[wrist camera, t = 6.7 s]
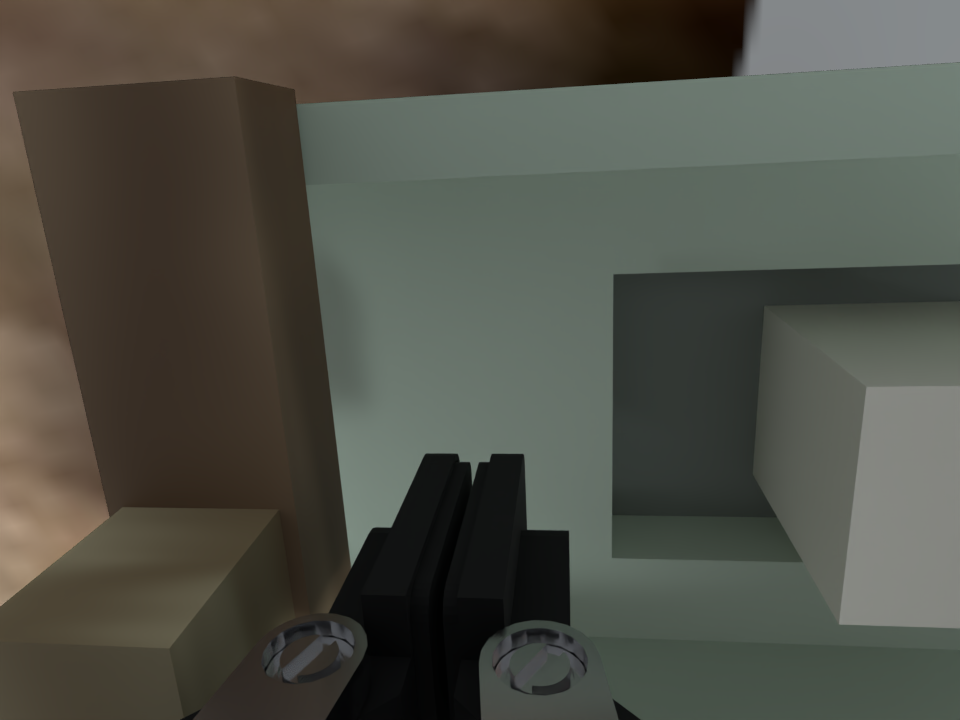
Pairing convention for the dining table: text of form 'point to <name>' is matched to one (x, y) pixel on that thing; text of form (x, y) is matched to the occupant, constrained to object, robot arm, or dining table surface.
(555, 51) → the dining table surface
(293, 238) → the latch bar
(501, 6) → the dining table surface
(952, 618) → the cream block
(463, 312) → the puzzle board
